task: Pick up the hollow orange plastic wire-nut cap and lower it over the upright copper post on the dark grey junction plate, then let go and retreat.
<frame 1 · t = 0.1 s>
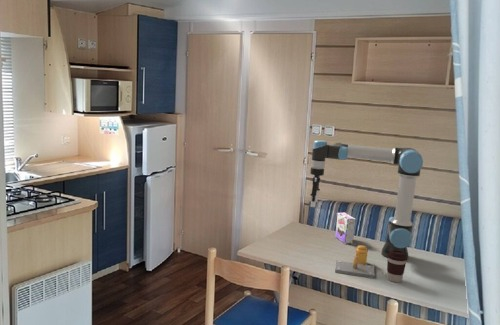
hand: (313, 204, 279), 28 cm above the table, fingers open, 13 cm apart
candy box: (343, 240, 308), on the table
wire nut: (360, 263, 269), on the table
junction plate: (354, 270, 258), on the table
coffee cup: (394, 280, 250), on the table
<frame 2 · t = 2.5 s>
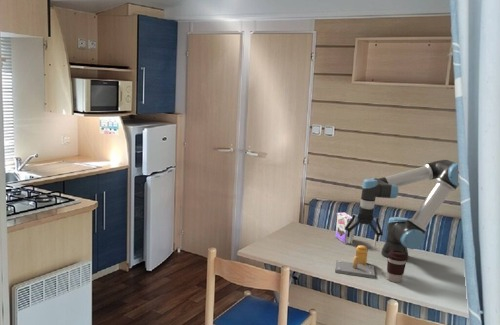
hand: (361, 244, 268), 11 cm above the table, fingers open, 13 cm apart
nothing on the table moved.
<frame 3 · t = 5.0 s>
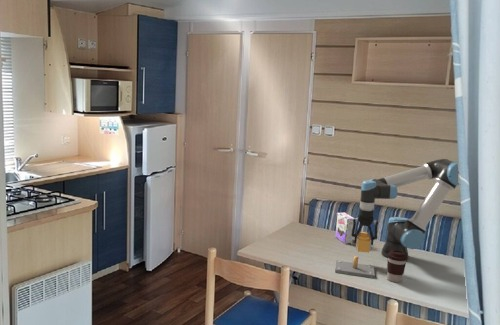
hand: (363, 249, 268), 8 cm above the table, fingers closed on wire nut, 6 cm apart
wire nut: (363, 250, 268), point 8 cm above the table, touching gripper
everything else where it was.
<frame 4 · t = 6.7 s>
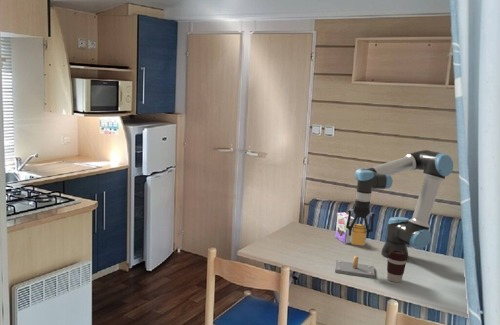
hand: (357, 242, 256), 15 cm above the table, fingers closed on wire nut, 6 cm apart
wire nut: (357, 243, 256), point 15 cm above the table, touching gripper
everything else where it was.
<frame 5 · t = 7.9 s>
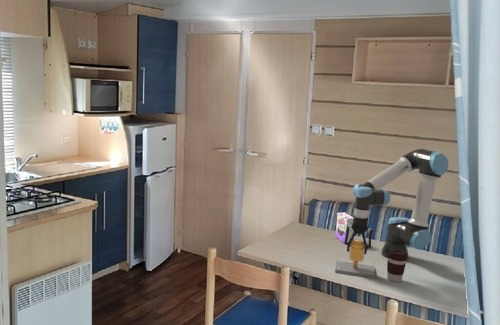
hand: (355, 258, 257), 7 cm above the table, fingers closed on wire nut, 6 cm apart
wire nut: (356, 259, 257), point 6 cm above the table, touching gripper
everything else where it was.
when the fingers open (3 cm above the table, at t = 8.9 s): wire nut drops 1 cm, resting on junction plate.
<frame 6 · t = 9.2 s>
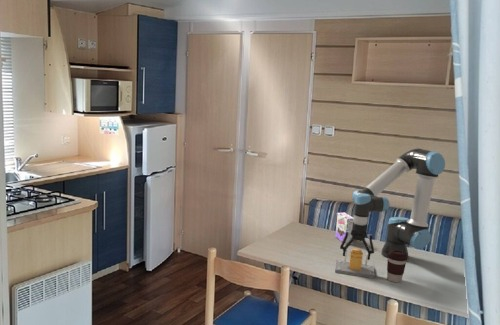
hand: (355, 263, 258), 4 cm above the table, fingers open, 10 cm apart
wire nut: (354, 267, 258), point 1 cm above the table, touching junction plate
everything else where it was.
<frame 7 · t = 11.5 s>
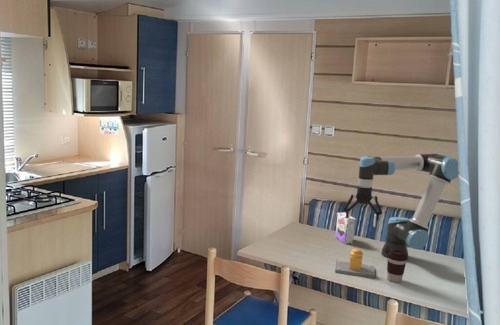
hand: (361, 225, 260), 23 cm above the table, fingers open, 13 cm apart
nothing on the table moved.
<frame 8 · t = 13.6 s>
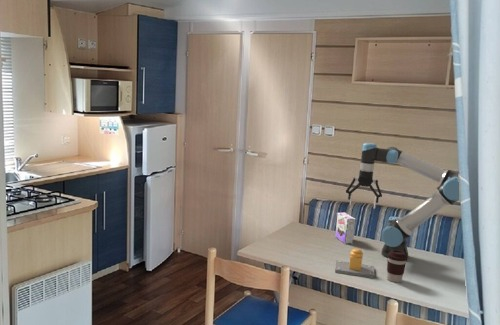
hand: (362, 206, 279), 29 cm above the table, fingers open, 13 cm apart
nothing on the table moved.
at the end: wire nut 0.0 cm off-centre on the junction plate, point 1.5 cm above the junction plate's base; wire nut tilted 0°; the gripper is holding nothing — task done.
